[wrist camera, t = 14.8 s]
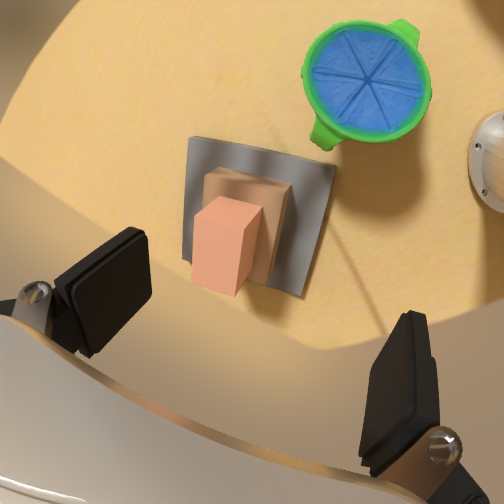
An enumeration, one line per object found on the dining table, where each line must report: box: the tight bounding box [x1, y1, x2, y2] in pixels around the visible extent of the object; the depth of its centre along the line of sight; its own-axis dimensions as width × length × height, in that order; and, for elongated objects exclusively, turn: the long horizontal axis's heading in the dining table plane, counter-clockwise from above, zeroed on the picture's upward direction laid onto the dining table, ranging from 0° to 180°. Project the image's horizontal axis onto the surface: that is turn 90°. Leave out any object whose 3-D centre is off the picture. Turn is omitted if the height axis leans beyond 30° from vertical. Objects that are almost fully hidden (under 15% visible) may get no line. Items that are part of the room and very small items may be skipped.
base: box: [182, 136, 336, 296], centre depth 38 cm, size 18×18×6 cm
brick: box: [191, 196, 262, 297], centre depth 33 cm, size 5×8×6 cm, turn 171°
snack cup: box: [301, 19, 432, 152], centre depth 24 cm, size 16×10×10 cm
